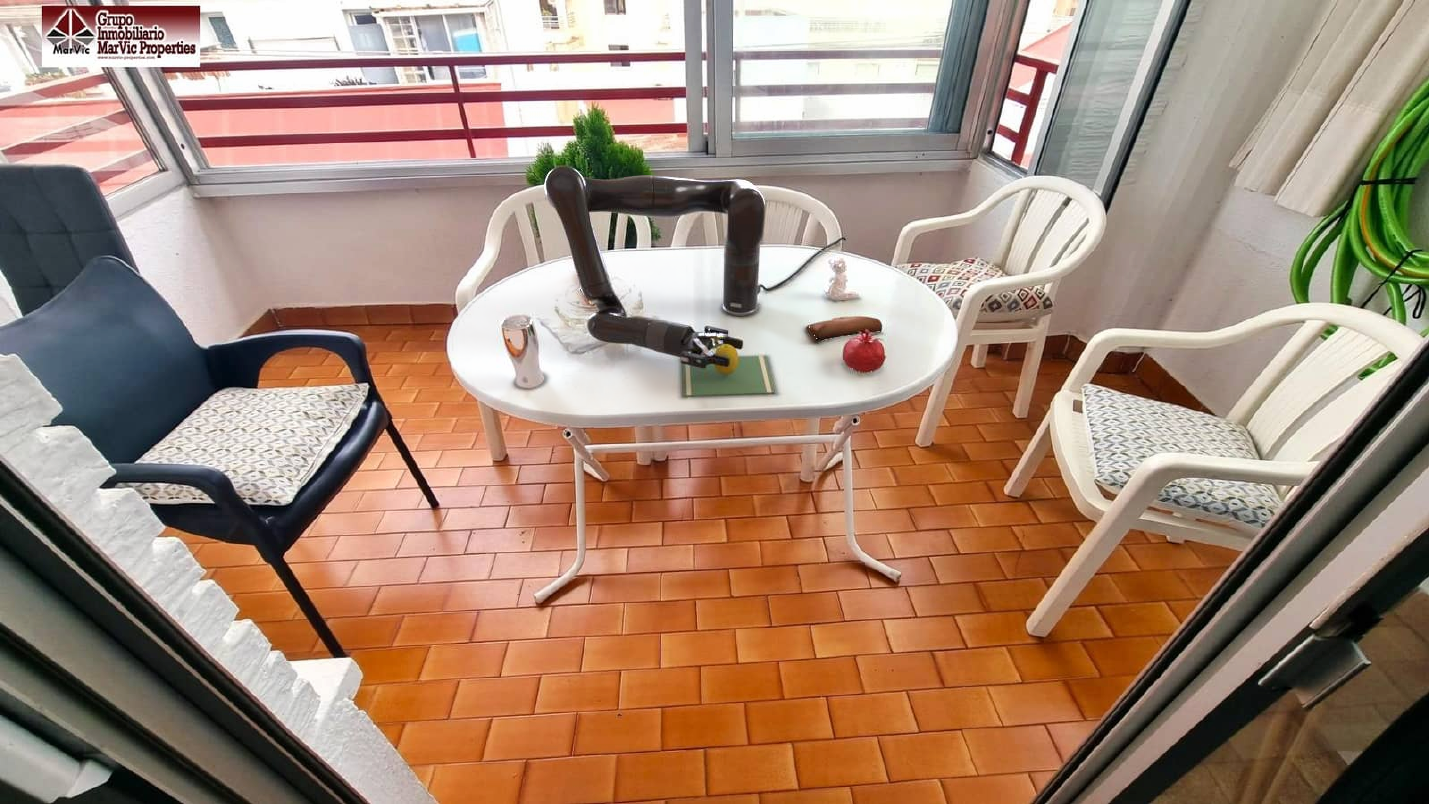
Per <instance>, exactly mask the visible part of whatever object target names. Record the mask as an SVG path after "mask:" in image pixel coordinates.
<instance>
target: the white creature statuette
mask: <svg viewBox="0 0 1429 804" xmlns="http://www.w3.org/2000/svg"><path fill="white" fill-rule="evenodd" d="M827 263H828V264H829V267H830V269H831V270H832V272H831V273H830V275H829V276H828V281H827V282H826V284H825V286H824V289H823V293H824V297H826V298H827V299H829V300H831V301H848V300H849V301H850V300H857V299H858V298H859V297H860V293H859V292H858V291H856V290H855V289H853V288H852V289H848V286H847V283H848V278H847V277H848V276H847V274H846V271H847V266H846V264H847V263H846V261H845V260H844V257H843V256H842V255H837V256H836V255H835V256H834V257H833V258H831V257H828V260H827ZM855 296H858V297H855Z"/></svg>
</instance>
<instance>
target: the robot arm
mask: <svg viewBox="0 0 1429 804" xmlns="http://www.w3.org/2000/svg"><path fill="white" fill-rule="evenodd" d="M544 192H545V196H546V199H547V201H548V203H549V205H550V206H551V208H553V209H554V210H555V211H556V213H557V215H558V217H559V220H560V222H561V224H562V226H563V230H564V233H565V235H566V238H567V241H568V242H567V243H568V245H569V250H570V254H571V258H572V262H573V266H574V269H575V273H576V276H577V279H578V283H579V286H580V287H581V289H582V290H581V292H582V295H583V298H584V299H585V300H586V301H587V302H588V301H591V302H594V303H595V304H594V305H595V306H596V308H597V309H598V311H594V312H593V313H592V314H591V315H590V316H589V317H588V319H587V321H586V329H587V330H588V333H589V334H590V336H592V337H593V338H594V339H596V340H597V341H600V342H604V343H609V344H619V345H633V346H636V347H640V348H645V349H648V350H651V351H654V352H657V353H660V354H664V355H667V356H672V357H677V358H680V364H686V365H690V366H695V367H699V368H703V369H704V368H706V366H707V365H712V364H715V365H719V366H725V367H728V366H729V365H730V358H729V357H727V356H723V355H718V354H715V353H712V352H711V351H712V350H713V349H714V350H715V349H716V350H717V349H718V347H720V346H721V345H725V344H728V345H731V346H733V347H734V348H735V349H736V350H742V349H743V347H744V340H743V339H740V338H737V337H736V338H735V337H733V336H730V335H729V330H728V329H725V328H719V327H715V326H711V325H704V327H703V328H704V330H702V331H695V329H694V328H693V326H691V325H689V324H683V323H680V322H674V321H671V320H665V319H657V318H652V317H647V316H643V315H632V316H628V315H627V311H626V309H625V307H624V305H623V303H622V301H621V299H620V298H619V296H618V295H617V293H616V292H615V290H614V289H613V286H612V281H611V277H610V274H609V272H608V268H607V266H606V262H605V260H604V256H603V254H602V251H601V248H600V246H599V242H598V240H597V237H596V233H595V231H594V226H593V224H592V219H591V215H590V213H614V214H621V215H629V216H639V217H647V218H677V217H682V216H685V215H690V214H693V213H694V214H695V213H699V212H707V213H708V212H709V213H719V214H724V215H727V220H726V221H727V225H726V235H725V236H724V239H723V293H722V294H723V295H722V296H723V297H722V298H723V299H722V301H723V302H722V310H723V311H724V312H725V313H726V314H727V315H731V316H735V317H746V316H747V317H748V316H751V315H753V314H754V313H756V312H757V311H758V295H759V294H760V293H761V289H762V290H764V291H766V292H767V291H772V290H774V289H777V288H779V287H780V286H782V285H784V284H785V283H787V282H788V281H790V280H791V279H793V278H794V277H795V276H796V275H797V274H798V273H799V272H801V271H802V269H803V268H805V267H806V266H807V265H808V264H809V263H810V262H811V261H812V260H813V259H814V258H815V257H817V256H818V255H819V254H821V253H822V252H823V251H825V250H827V249H828V248H830V247H833V246H834V245H837V243H839V242H841V241H847V239H846V238H845V236H843V237H842V236H841V237H840V238H838V239H837V240H836V241H834V242H832V243H829V244H828V245H826V246H823V248H821V249H820V250H823V251H819V250H818V251H817V252H815V253H814V254H813V255H812V256H811V257H809V258H808V259H807V260H806V261H805V262H804V263H803V264H802V265H801V266H800V267H799V268H798V269H797V270H795V271H794V272H793V273H792V274H791V275H789V276H788V277H786V279H784V280H782V281H780V282H779V283H777V284H775V285H774V286H770V287H766V286H765V285H764V284H762V283H759V273H760V257H761V255H760V253H761V243H762V241H763V237H764V229H765V215H766V204H765V199H764V196H763V194H762V193H761V192H760V191H759V190H758V189H757V187H756V186H755V185H754V184H753V183H751V182H750V181H747V180H744V179H730V180H729V179H727V180H698V179H692V178H682V177H673V176H663V175H662V176H661V175H633V176H627V177H626V176H625V177H620V178H615V179H614V178H613V179H598V178H590V177H584V176H583V175H582V174H581V173H580V172H579V171H578V170H577V169H575V168H574V167H572V166H570V165H558V166H555V167H554V168H552V169H551V170H550V171H549V172H548V174H547V176H546V177H545V181H544ZM697 360H701V363H699V362H697Z"/></svg>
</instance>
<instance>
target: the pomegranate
mask: <svg viewBox="0 0 1429 804" xmlns="http://www.w3.org/2000/svg"><path fill="white" fill-rule="evenodd" d="M858 333H860V334H857V335H856V336H854V337H852V338H849V339H848V340H847V342H846V343H844V345H843V348H842V360H843V362H844V361H845V362H844V363H845V365H846V366H847V367H848V369H849V368H850V369H851V370H853V371H855V372H858V373H861V374H867V373H868V374H869V373H874V372H876V371H878V370H879V369H880V368H882V367H883V366H884V363H885V361H886V359H887V356H886V352H885V351H886V350H885V347H884V345H883V343H882V342H883V341H885V340H884V339H881V338H878V337H873V336H876V335H877V333H875V332H872V333H871V334H870V333H869V330H865V333H864V334H863V333H862V332H859V331H858ZM881 341H882V342H881ZM852 368H853V369H852ZM875 370H876V371H875ZM859 371H860V372H859ZM871 371H872V372H871Z"/></svg>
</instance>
